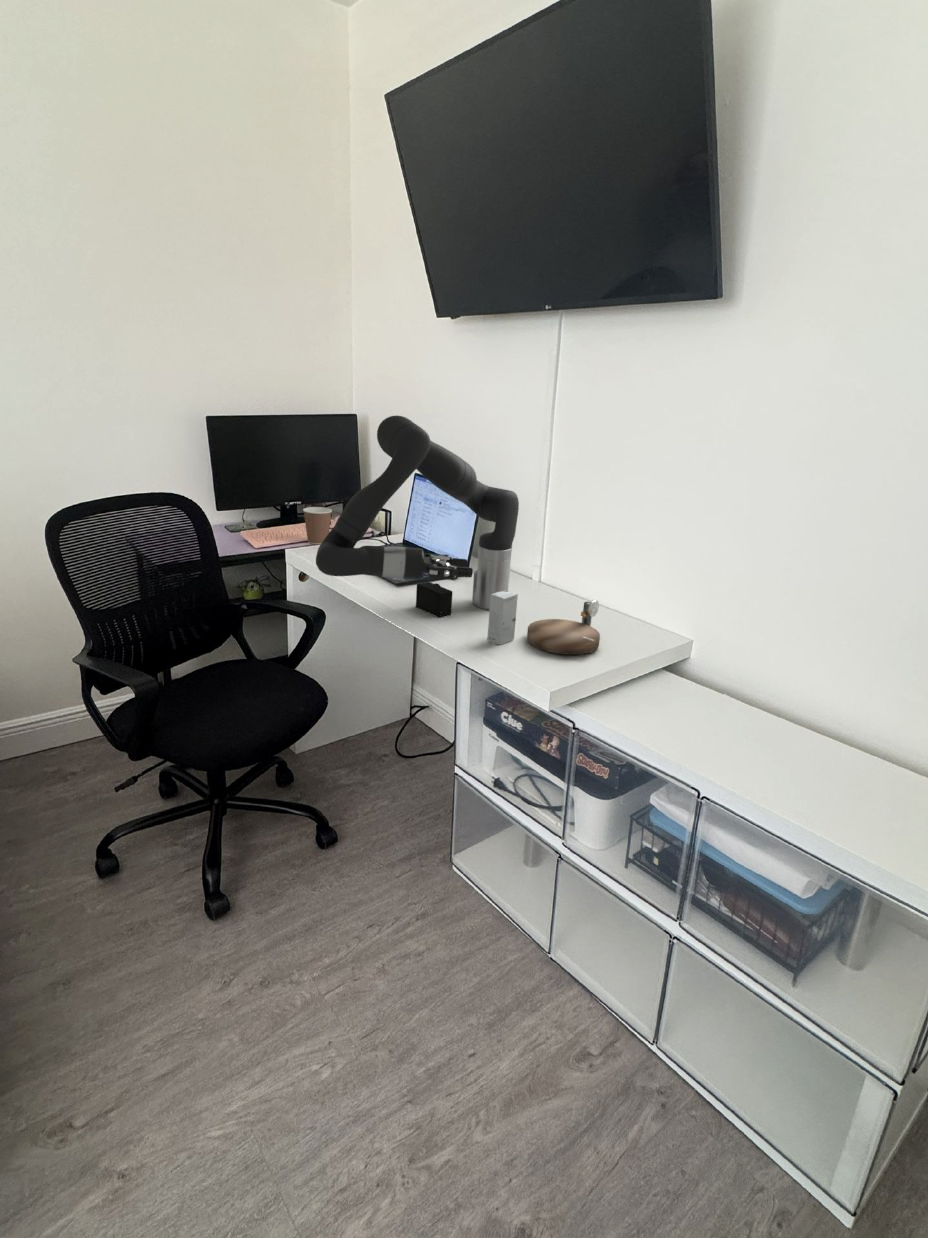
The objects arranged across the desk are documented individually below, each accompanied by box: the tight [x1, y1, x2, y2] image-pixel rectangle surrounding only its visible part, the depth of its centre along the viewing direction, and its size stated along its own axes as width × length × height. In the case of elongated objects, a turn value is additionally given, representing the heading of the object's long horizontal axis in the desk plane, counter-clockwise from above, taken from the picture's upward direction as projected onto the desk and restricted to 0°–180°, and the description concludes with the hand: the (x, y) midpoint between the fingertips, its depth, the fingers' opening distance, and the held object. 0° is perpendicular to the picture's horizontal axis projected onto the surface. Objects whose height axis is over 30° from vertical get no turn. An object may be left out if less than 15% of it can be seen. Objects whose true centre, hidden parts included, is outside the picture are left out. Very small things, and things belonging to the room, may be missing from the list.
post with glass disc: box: [580, 599, 600, 627], centre depth 183 cm, size 5×3×9 cm, turn 141°
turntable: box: [526, 618, 601, 655], centre depth 175 cm, size 18×18×2 cm
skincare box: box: [487, 590, 519, 646], centre depth 173 cm, size 6×4×12 cm
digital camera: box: [415, 581, 453, 619], centre depth 192 cm, size 10×5×7 cm, turn 42°
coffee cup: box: [302, 506, 333, 545], centre depth 255 cm, size 10×10×12 cm
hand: (469, 568), depth 168 cm, fingers open, 8 cm apart
